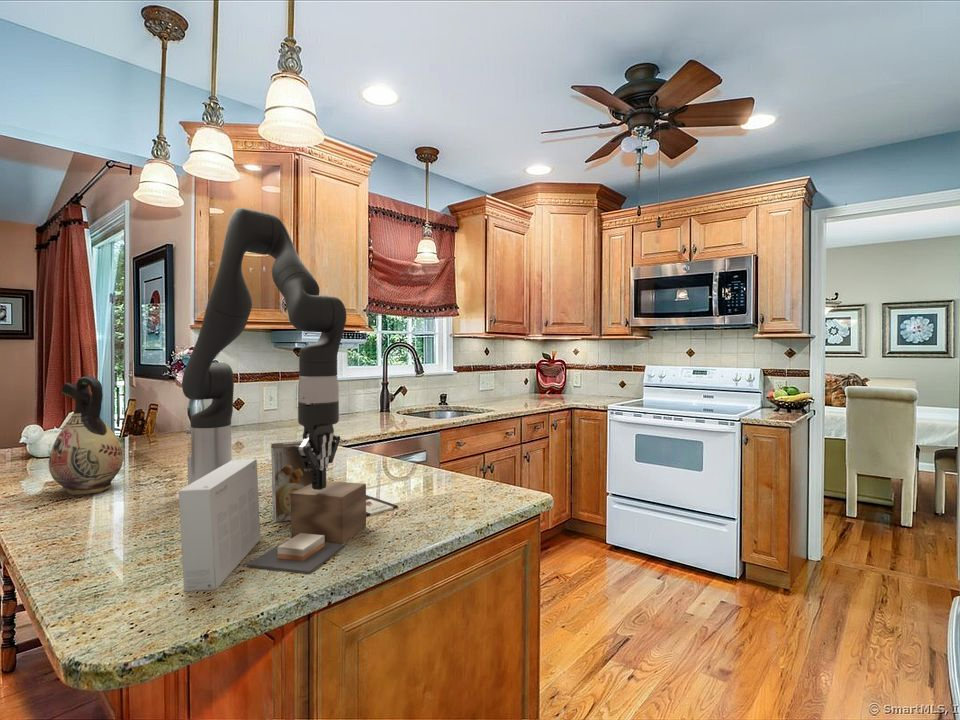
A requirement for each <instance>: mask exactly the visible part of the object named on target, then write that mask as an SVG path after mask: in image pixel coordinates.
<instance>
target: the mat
mask: <svg viewBox="0 0 960 720" xmlns="http://www.w3.org/2000/svg"><path fill="white" fill-rule="evenodd" d="M290 539H291V538H288V539H286V540H284V541H283V542H281V543H279V544H278V545H276V546H274V547H273V548H270V549H269V550H267V551H266V552H264V553H263V554H261V555H259V556H257V557H256V558H255V559H253V560H250V561H249V562H248V563H247V564H246V565H245V566H246V567H247V568H257V569H265V570H275V571H282V572H283V571H284V572H290V573H292V572H293V573H301V574H308V575H309V574H312V573H313V572H314V571H315V570H317V569H318V568H319V567H320V566H322V565H324V563H326V562H327V561H329V560H330V559H331V558H332V557H334V556H335V555H336V554H337V553H339V552H340V551H341V550H343V549H344V548H345V547H346V545H345V543H344V544H334V543H325V546H324V547H322V548H321V549H320V550H318V551H317V552H315V553H314V554H312V555H311V556H310V557H308V558H307V559H305V560H304V561H299V560H290V559H281V558H278V546H280V545H282V544H283V543H285V542H287V541H288V540H290Z"/></svg>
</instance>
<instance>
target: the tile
mask: <svg viewBox="0 0 960 720" xmlns="http://www.w3.org/2000/svg"><path fill="white" fill-rule="evenodd" d="M289 539H290V540H288V541H287V542H285V543H283V544H282V545H280V546H278V545H277V546H278V558H281V559H290V560H299V561H304V560H305V559H307V558H308V557H310V556H311V555H312V554H314V553H315V552H317V551H318V550H320V549H321V548H322V547H324V546H325V535H316V534H305V533H300V534H298V535H296V536H295V537H293V538H291V537H290V538H289Z"/></svg>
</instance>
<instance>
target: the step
mask: <svg viewBox="0 0 960 720" xmlns="http://www.w3.org/2000/svg"><path fill="white" fill-rule="evenodd" d="M366 495H367V483H364V482H363V483H361V482H346V481H345V482H344V481H343V482H342V481H332V480H331V481H330V480H326V487H325V488H323V489H321V490H315V489H313V488H312V484H310V485H307V486H305V487H303V488H301V489H299V490H297V491H295V492H292V493H291V520H290V539H291V538H293V537H295V536H296V535H298V534H300V533H305V534H316V535H325V543H333V544H344V545H345V544H346V542H348V541H349V540H350V539H352V538H353V537H354V536H356V535H357V534H359V533H360V532H361V531H362V530H364V529H365V528H367V517H366Z"/></svg>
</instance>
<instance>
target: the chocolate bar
mask: <svg viewBox="0 0 960 720" xmlns="http://www.w3.org/2000/svg"><path fill="white" fill-rule="evenodd" d="M395 508H396V509H398V508H399V506H398V505H397V504H394V503H391V502H388V501H385V500H382V499H379V498H376V497H373V496H370V495H367V494H366V516H367V517H369V516H370V515H371V516H373V515H377V513H378V514H381V513H380V512H382V513H385V512H389V511H392V510H395ZM388 510H389V511H388ZM384 511H385V512H384ZM371 516H370V517H371Z"/></svg>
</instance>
